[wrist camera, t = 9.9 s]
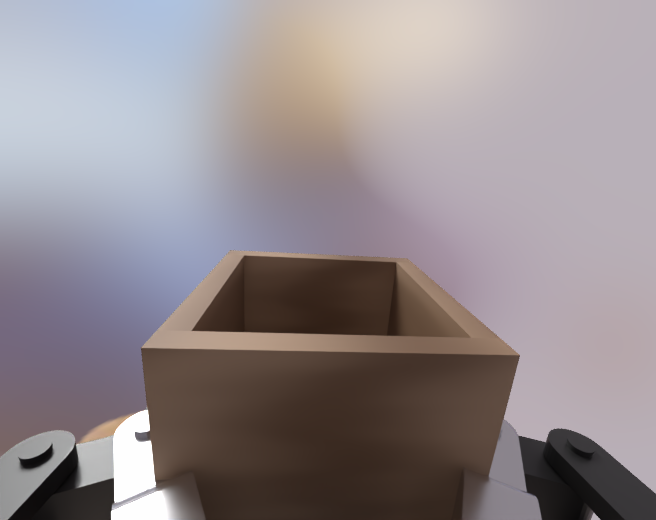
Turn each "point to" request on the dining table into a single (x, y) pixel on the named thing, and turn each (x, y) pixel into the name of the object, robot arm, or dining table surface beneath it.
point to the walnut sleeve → (324, 390)
